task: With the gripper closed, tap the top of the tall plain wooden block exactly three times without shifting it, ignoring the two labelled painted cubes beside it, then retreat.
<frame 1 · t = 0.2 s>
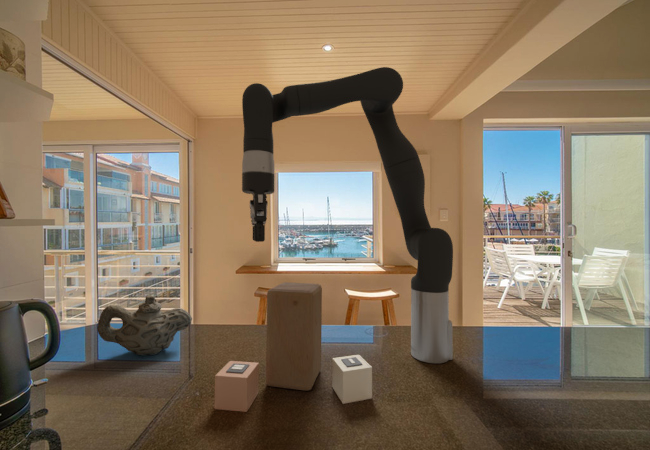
hand: (258, 241, 68), 30 cm above the countertop, fingers open, 8 cm apart
teapot: (146, 353, 75), on the countertop
terracotta cube: (237, 401, 54), on the countertop
cream cube: (351, 392, 57), on the countertop
wooden block: (294, 379, 63), on the countertop
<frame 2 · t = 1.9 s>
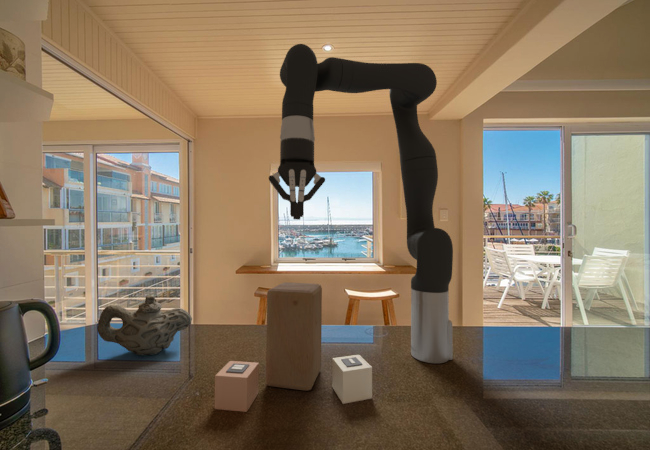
hand: (296, 219, 64), 35 cm above the countertop, fingers closed
nothing on the countertop moved.
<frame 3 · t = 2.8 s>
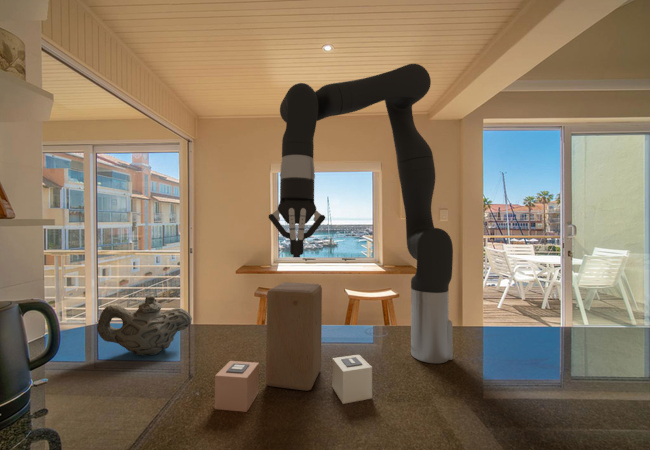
hand: (296, 257, 63), 26 cm above the countertop, fingers closed
nothing on the countertop moved.
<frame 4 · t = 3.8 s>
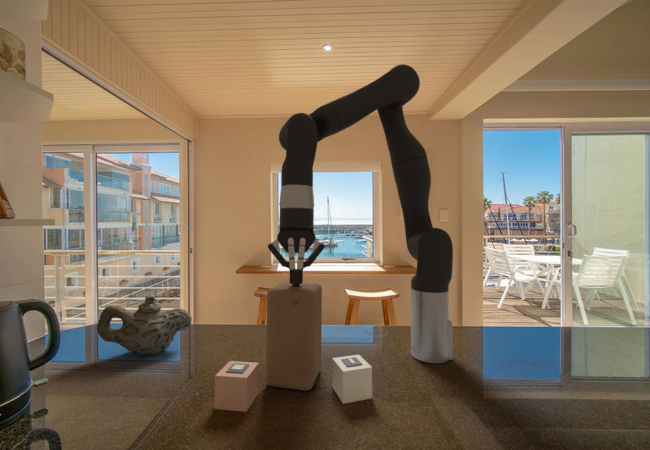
hand: (295, 286, 63), 20 cm above the countertop, fingers closed
wooden block: (294, 379, 63), on the countertop, touching gripper
everything else where it was.
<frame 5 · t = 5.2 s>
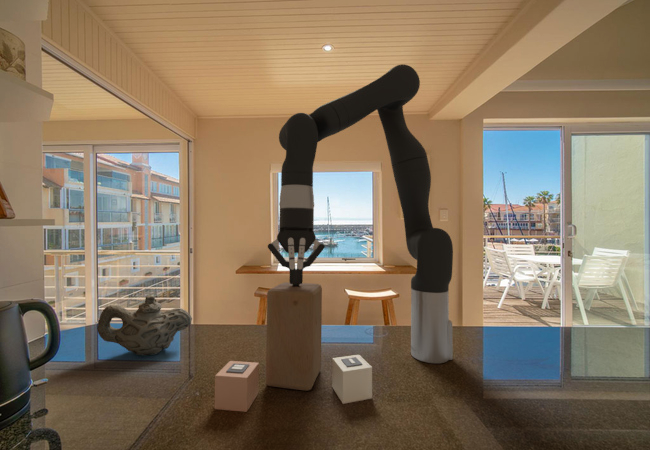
hand: (295, 286, 63), 20 cm above the countertop, fingers closed
nothing on the countertop moved.
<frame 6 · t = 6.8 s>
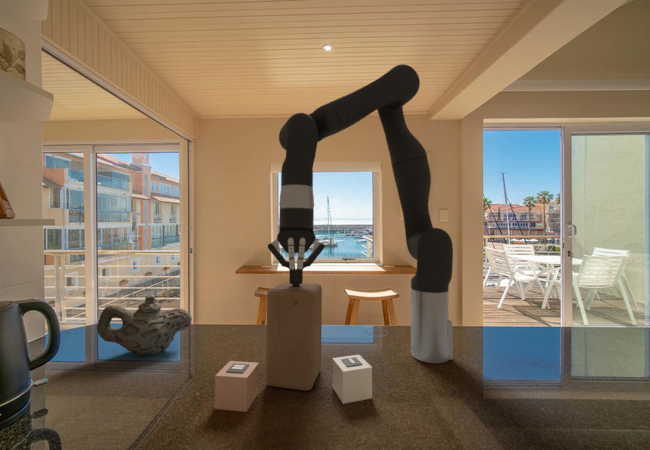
hand: (295, 286, 63), 20 cm above the countertop, fingers closed
nothing on the countertop moved.
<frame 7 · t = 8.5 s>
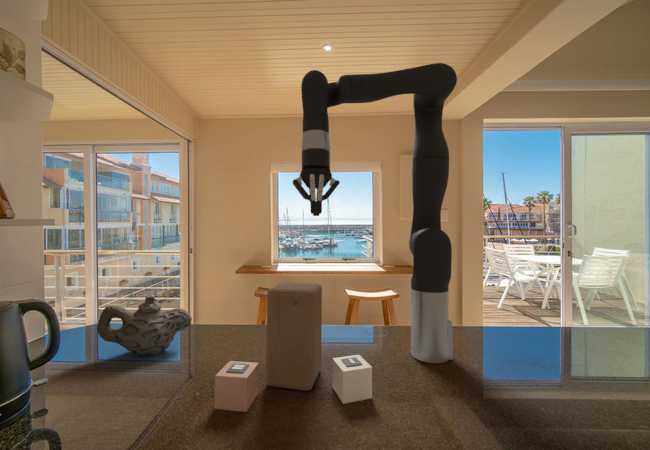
hand: (316, 215, 76), 36 cm above the countertop, fingers closed
wooden block: (294, 379, 63), on the countertop
everything else where it was.
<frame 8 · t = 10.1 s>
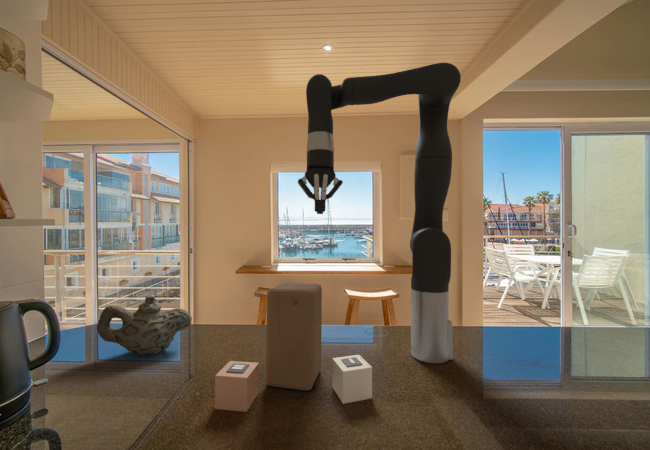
hand: (319, 213, 80), 37 cm above the countertop, fingers closed
nothing on the countertop moved.
at the end: wooden block moved 0.2 cm from its start; wooden block tilted 0°; cream cube moved 0.1 cm from its start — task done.
